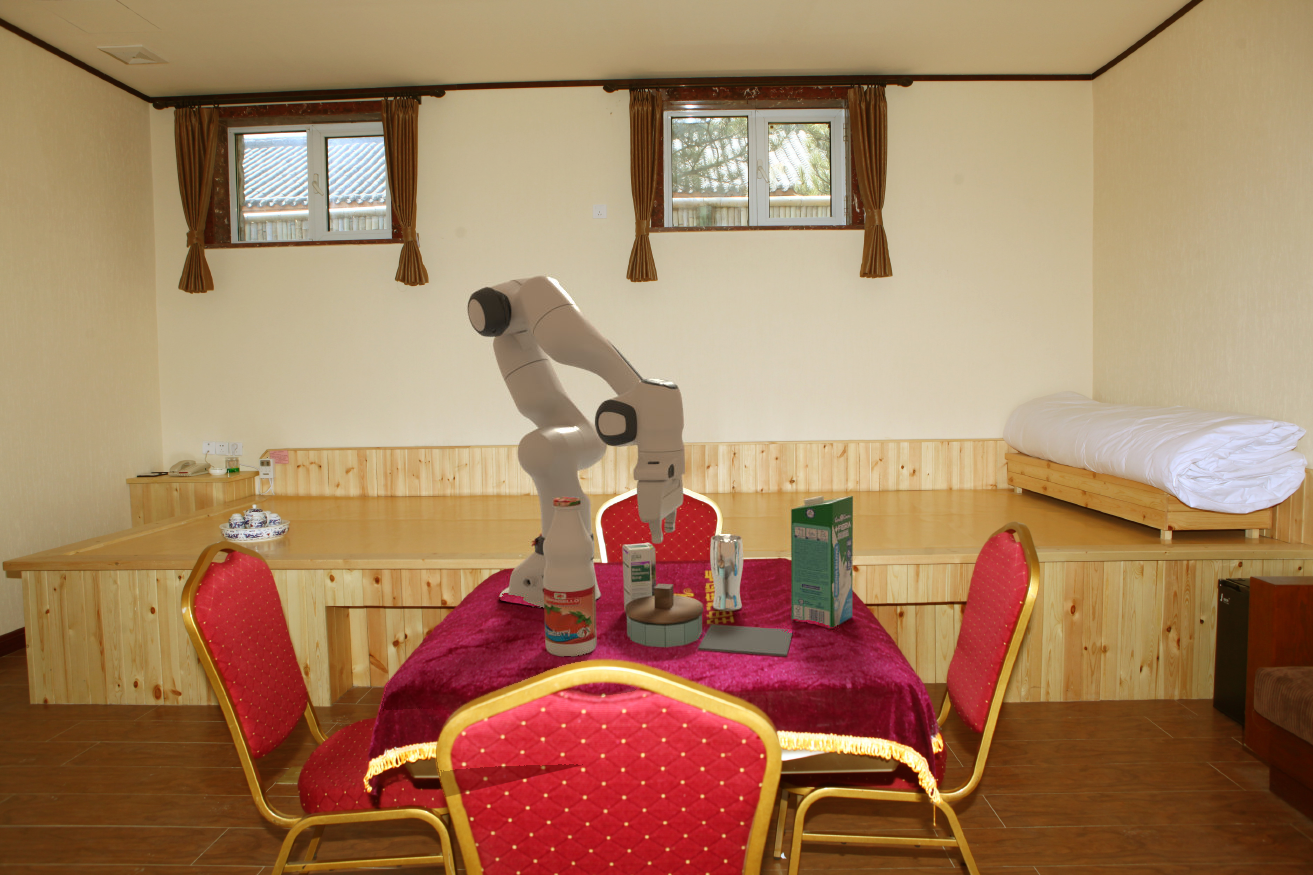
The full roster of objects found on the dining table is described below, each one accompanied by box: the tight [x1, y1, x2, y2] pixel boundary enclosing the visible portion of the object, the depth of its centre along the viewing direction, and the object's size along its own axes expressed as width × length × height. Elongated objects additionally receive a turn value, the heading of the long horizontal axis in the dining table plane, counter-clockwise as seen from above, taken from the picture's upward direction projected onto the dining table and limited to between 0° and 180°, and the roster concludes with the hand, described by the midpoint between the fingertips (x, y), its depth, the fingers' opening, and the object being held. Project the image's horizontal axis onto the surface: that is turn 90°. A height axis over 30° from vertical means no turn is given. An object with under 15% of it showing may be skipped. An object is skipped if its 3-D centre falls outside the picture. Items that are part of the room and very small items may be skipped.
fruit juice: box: [543, 496, 598, 657], centre depth 144 cm, size 9×9×28 cm
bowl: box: [626, 613, 703, 648], centre depth 152 cm, size 14×14×4 cm
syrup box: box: [621, 542, 657, 609], centre depth 164 cm, size 6×6×14 cm
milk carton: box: [790, 495, 854, 628], centre depth 158 cm, size 9×9×25 cm
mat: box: [697, 624, 793, 658], centre depth 148 cm, size 16×13×1 cm
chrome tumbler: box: [709, 533, 744, 612], centre depth 168 cm, size 7×7×15 cm
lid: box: [624, 583, 704, 623], centre depth 152 cm, size 15×15×5 cm
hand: (663, 537), depth 151 cm, fingers open, 8 cm apart
